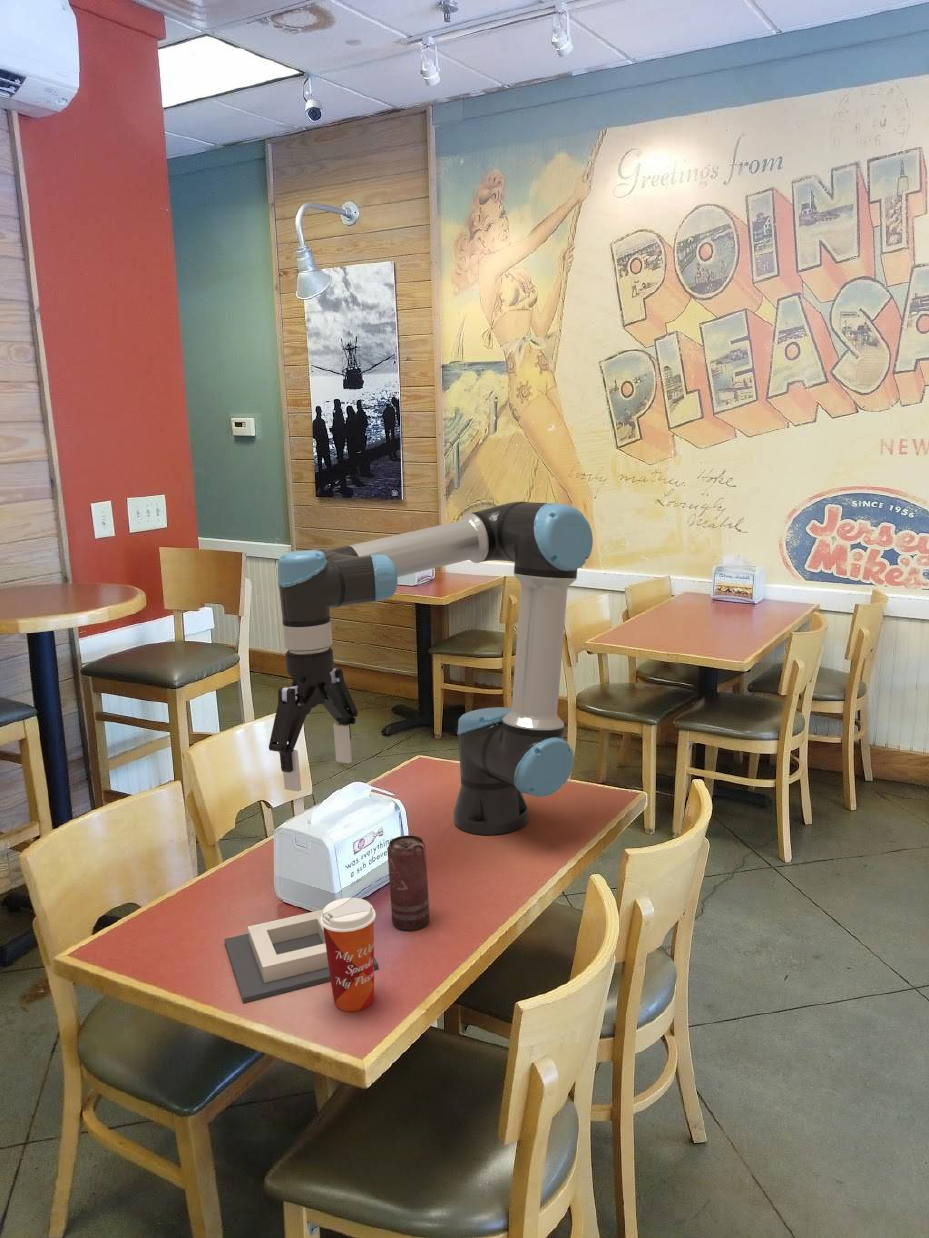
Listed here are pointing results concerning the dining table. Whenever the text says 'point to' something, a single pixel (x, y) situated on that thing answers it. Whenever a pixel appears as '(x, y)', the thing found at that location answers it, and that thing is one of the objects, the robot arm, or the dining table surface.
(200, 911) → the dining table surface
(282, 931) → the holder
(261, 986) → the mat
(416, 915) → the can
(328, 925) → the paper cup
